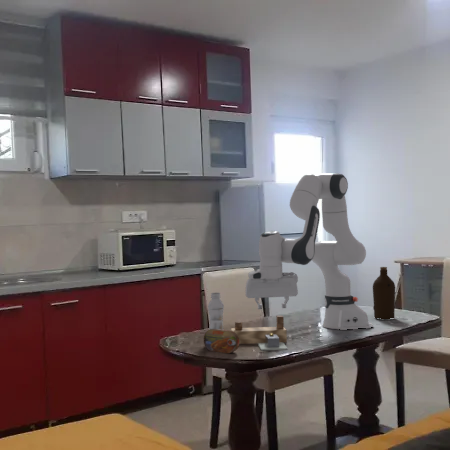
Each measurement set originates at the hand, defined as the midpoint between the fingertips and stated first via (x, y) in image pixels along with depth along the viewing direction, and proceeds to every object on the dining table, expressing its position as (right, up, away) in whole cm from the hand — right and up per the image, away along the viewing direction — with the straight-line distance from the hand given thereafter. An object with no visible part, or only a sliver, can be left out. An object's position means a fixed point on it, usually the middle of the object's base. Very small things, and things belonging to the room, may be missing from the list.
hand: (272, 308), depth 226 cm
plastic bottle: (-22, -15, +10) cm, 29 cm away
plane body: (-5, -15, +11) cm, 19 cm away
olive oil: (+59, -13, +56) cm, 83 cm away
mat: (0, -15, 0) cm, 15 cm away
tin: (-20, -16, -6) cm, 26 cm away
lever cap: (0, -14, 0) cm, 14 cm away
